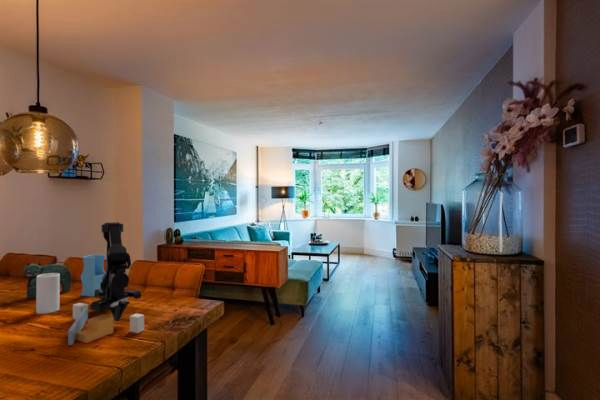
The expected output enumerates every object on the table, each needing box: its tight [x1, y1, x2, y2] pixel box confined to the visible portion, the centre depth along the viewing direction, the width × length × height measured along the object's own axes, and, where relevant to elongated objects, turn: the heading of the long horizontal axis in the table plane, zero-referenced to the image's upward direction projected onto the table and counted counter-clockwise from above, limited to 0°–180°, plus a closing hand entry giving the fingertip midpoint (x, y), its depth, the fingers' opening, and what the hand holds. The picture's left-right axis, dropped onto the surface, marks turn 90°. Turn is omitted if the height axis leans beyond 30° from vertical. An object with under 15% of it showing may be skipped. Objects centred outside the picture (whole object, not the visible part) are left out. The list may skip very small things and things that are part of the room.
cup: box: [35, 273, 61, 315], centre depth 145 cm, size 8×8×16 cm
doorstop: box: [75, 313, 115, 344], centre depth 120 cm, size 10×6×6 cm, turn 154°
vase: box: [80, 254, 106, 297], centre depth 170 cm, size 8×8×20 cm
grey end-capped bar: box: [65, 306, 89, 346], centre depth 123 cm, size 2×26×5 cm, turn 23°
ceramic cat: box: [23, 256, 72, 300], centre depth 168 cm, size 20×6×20 cm, turn 139°
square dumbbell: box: [72, 302, 145, 334], centre depth 131 cm, size 3×36×6 cm, turn 69°
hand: (117, 321), depth 130 cm, fingers closed
